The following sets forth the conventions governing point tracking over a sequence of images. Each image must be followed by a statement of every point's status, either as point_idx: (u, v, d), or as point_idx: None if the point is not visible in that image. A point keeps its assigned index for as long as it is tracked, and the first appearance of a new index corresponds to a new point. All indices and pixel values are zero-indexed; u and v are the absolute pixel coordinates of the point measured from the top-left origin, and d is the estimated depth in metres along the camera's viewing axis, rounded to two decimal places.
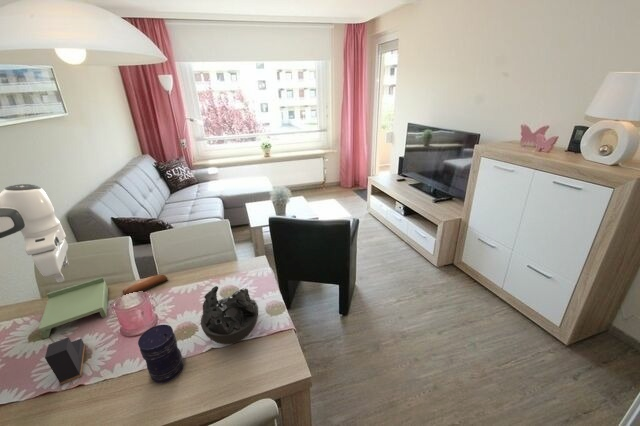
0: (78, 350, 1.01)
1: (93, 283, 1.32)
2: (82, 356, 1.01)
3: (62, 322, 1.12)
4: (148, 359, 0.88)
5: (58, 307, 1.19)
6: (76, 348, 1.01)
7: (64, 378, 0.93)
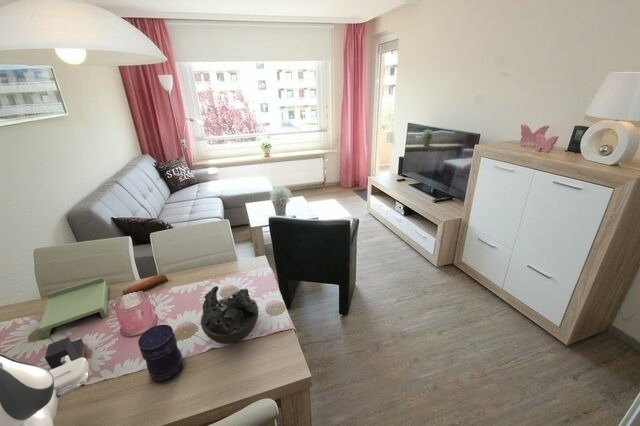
0: (78, 350, 1.01)
1: (93, 283, 1.32)
2: (82, 356, 1.01)
3: (62, 322, 1.12)
4: (148, 359, 0.88)
5: (58, 307, 1.19)
6: (76, 348, 1.01)
7: None
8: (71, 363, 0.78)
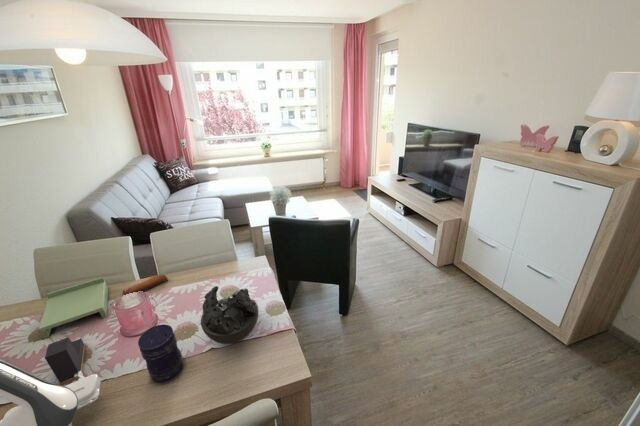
0: (78, 350, 1.01)
1: (93, 283, 1.32)
2: (82, 356, 1.01)
3: (62, 322, 1.12)
4: (148, 359, 0.88)
5: (58, 307, 1.19)
6: (76, 348, 1.01)
7: (64, 378, 0.93)
8: (84, 379, 0.85)
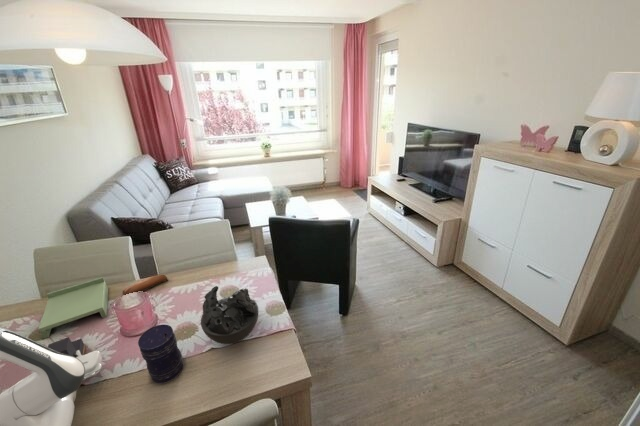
0: None
1: (93, 283, 1.32)
2: None
3: (62, 322, 1.12)
4: (148, 359, 0.88)
5: (58, 307, 1.19)
6: (76, 348, 1.01)
7: None
8: (87, 355, 0.92)
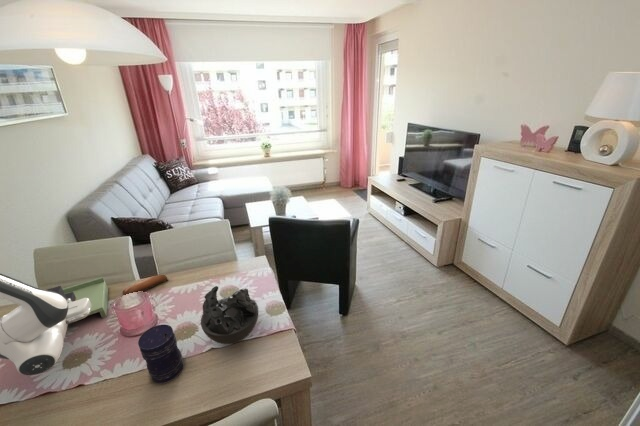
0: None
1: (93, 283, 1.32)
2: None
3: None
4: (148, 359, 0.88)
5: None
6: None
7: None
8: (77, 301, 1.00)
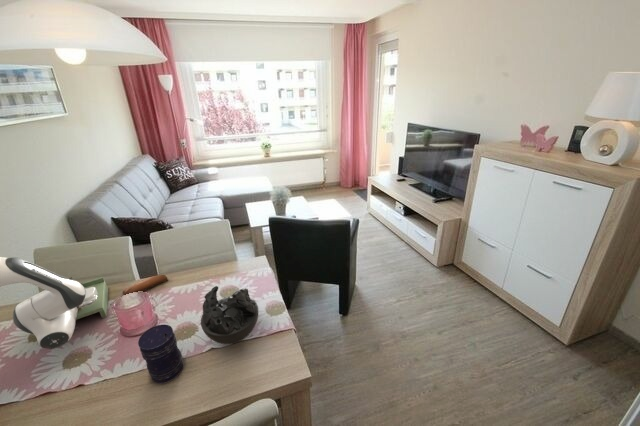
0: None
1: (93, 283, 1.32)
2: None
3: None
4: (148, 359, 0.88)
5: None
6: None
7: None
8: (85, 289, 1.15)
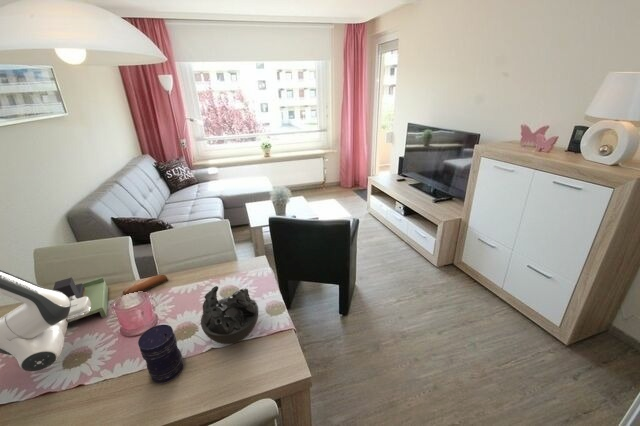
0: (79, 290, 1.23)
1: (93, 283, 1.32)
2: (82, 296, 1.24)
3: None
4: (148, 359, 0.88)
5: None
6: (77, 289, 1.24)
7: None
8: (77, 299, 1.02)
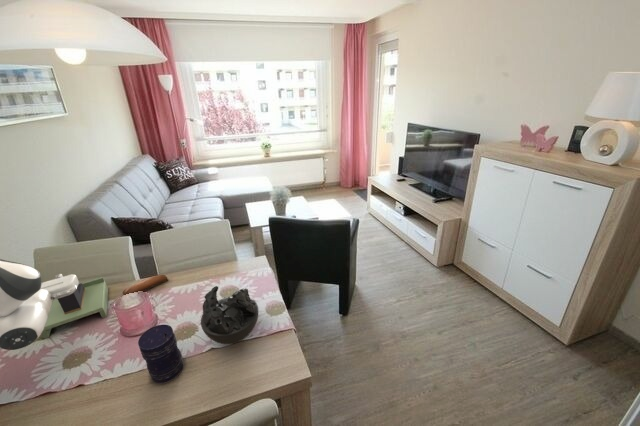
0: (79, 290, 1.23)
1: (93, 283, 1.32)
2: (82, 296, 1.24)
3: (62, 322, 1.12)
4: (148, 359, 0.88)
5: (58, 307, 1.19)
6: (77, 289, 1.24)
7: (68, 309, 1.15)
8: (63, 277, 0.95)
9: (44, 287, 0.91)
